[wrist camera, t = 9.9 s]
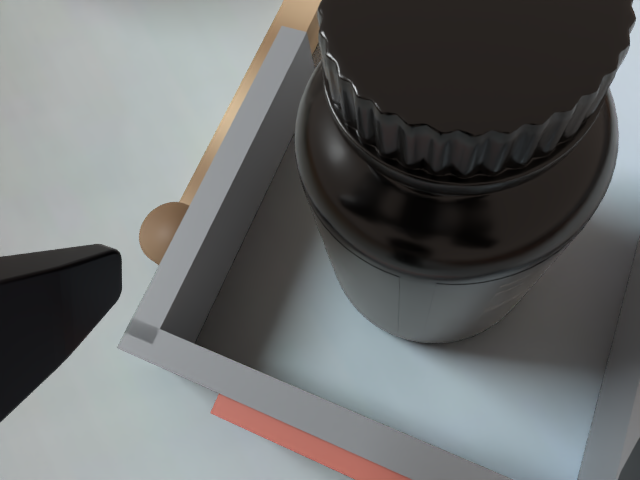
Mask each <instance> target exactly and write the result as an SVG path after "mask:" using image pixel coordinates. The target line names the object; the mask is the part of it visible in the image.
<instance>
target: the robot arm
mask: <svg viewBox="0 0 640 480" xmlns="http://www.w3.org/2000/svg"><path fill="white" fill-rule="evenodd" d="M121 291H122V259H121V255H120V252H119V251H118V250H116V249H113V248H111V247H108V246H105V245H102V244H93V245H86V246H78V247H71V248H63V249H56V250H48V251H41V252H33V253H26V254H18V255H11V256H3V257H0V422H1V421H2V420H3V419H4V418H6V417H7V416H8V415H9V414H10V413H11V412H12V411H13V410H14V409H15V408H16V407H17V406H18V405H19V404H20V403H21V402H22V401H23V400H24V399H26V398H27V397H28V396H29V395H30V394H31V393H32V392H33V391H34V390H35V389H36V388H37V387H38V386H39V385H40V384H41V383H42V382H43V381H44V380H46V379H47V378H48V377H49V376H50V375H51V374H52V373H53V372H54V371H55V370H56V369H57V368H58V367H59V366H60V365H61V364H62V363H63V362H64V361H65V360H66V359H67V358H68V357H69V356H70V355H71V354H72V352H73V351H74V350H75V349H76V348H77V347H78V346H79V345H80V343H81V342H82V341H83V340H84V339H85V338H86V336H87V335H88V334H89V333H90V332H91V331H92V330H93V328H94V327H95V326H96V325H97V324H98V323H99V321H100V320H101V319H102V318H103V317H104V316H105V315H106V313H107V312H108V311H109V310H110V309H111V308H112V306H113V305H114V304H115V303H116V302H117V300H118V299H119V297H120V294H121ZM618 480H640V438H639V439H638V441H637V442H636V444H635V446H634V448H633V450H632V452H631V453H630V455H629V457H628V459H627V461H626V463H625V464H624V466H623V468H622V470H621V472H620V475H619V478H618Z"/></svg>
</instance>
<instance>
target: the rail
mask: <svg viewBox="0 0 640 480" xmlns="http://www.w3.org/2000/svg"><path fill="white" fill-rule="evenodd" d="M321 1H322V0H284V1H283V3H282V5H281V7H280V9H279V11H278V13H277V15H276V17H275V18H274V20H273V22H272V24H271V26H270V28H269V30H268V32H267V34H266V36H265V38H264V40H263V42H262V44H261V45H260V47H259V49H258V51H257V53H256V55H255V57H254V59H253V61H252V63H251V65H250V67H249V69H248V70H247V72H246V74H245V76H244V78H243V80H242V82H241V84H240V86H239V88H238V90H237V92H236V94H235V96H234V97H233V99H232V101H231V103H230V105H229V107H228V109H227V111H226V113H225V115H224V117H223V119H222V121H221V122H220V124H219V126H218V128H217V130H216V132H215V134H214V136H213V138H212V140H211V142H210V144H209V146H208V148H207V149H206V151H205V153H204V155H203V157H202V159H201V161H200V163H199V165H198V167H197V169H196V171H195V173H194V174H193V176H192V178H191V180H190V182H189V184H188V186H187V188H186V190H185V192H184V194H183V196H182V198H181V199H180V201H179V202H170V203H166V204H163V205H161V206H159V207H157V208H155V209H154V210H153V211H151V212H150V213H149V214H148V216H147V217H146V218H145V220H144V221H143V223H142V225H141V229H140V233H139V242H140V246H141V248H142V250H143V252H144V253H145V255H146V256H147V257H148V258H150V259H151V260H152V261H154V262H155V263H157V264H158V265H159V264H160V262H161V260H162V258H163V257H164V255H165V253H166V251H167V249H168V247H169V245H170V243H171V241H172V239H173V237H174V235H175V233H176V231H177V229H178V227H179V225H180V223H181V221H182V219H183V217H184V216H185V214H186V212H187V210H188V208H189V206H190V204H191V202H192V200H193V198H194V196H195V194H196V192H197V190H198V188H199V186H200V184H201V182H202V180H203V178H204V177H205V175H206V173H207V171H208V169H209V167H210V165H211V163H212V161H213V159H214V157H215V155H216V153H217V151H218V149H219V147H220V145H221V143H222V141H223V139H224V137H225V136H226V134H227V132H228V130H229V128H230V126H231V124H232V122H233V120H234V118H235V116H236V114H237V112H238V110H239V108H240V106H241V104H242V102H243V100H244V98H245V97H246V95H247V93H248V91H249V89H250V87H251V85H252V83H253V81H254V79H255V77H256V75H257V73H258V71H259V69H260V67H261V65H262V63H263V61H264V59H265V57H266V56H267V54H268V52H269V50H270V48H271V46H272V44H273V42H274V40H275V38H276V36H277V34H278V32H279V30H280V28H281V26H285V27H289V28H293V29H297V30H301V31H305V32H307V35H308V40H309V44H310V49H311V53H312V55H313V53H314V51H315V49H316V47H317V44H318V42H319V41H318V34H319V24H318V17H317V11H318V7H319V4H320V2H321Z"/></svg>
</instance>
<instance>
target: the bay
mask: <svg viewBox="0 0 640 480" xmlns="http://www.w3.org/2000/svg"><path fill="white" fill-rule="evenodd" d="M314 70H315V67H314V62H313V58H312V53H311V49H310V44H309V40H308V35H307V32H305V31H301V30H297V29H293V28H289V27H285V26H281V28H280V30H279V32H278V34H277V36H276V38H275V40H274V42H273V44H272V46H271V48H270V50H269V52H268V54H267V56H266V57H265V59H264V61H263V63H262V65H261V67H260V69H259V71H258V73H257V75H256V77H255V79H254V81H253V83H252V85H251V87H250V89H249V91H248V93H247V95H246V97H245V98H244V100H243V102H242V104H241V106H240V108H239V110H238V112H237V114H236V116H235V118H234V120H233V122H232V124H231V126H230V128H229V130H228V132H227V134H226V136H225V137H224V139H223V141H222V143H221V145H220V147H219V149H218V151H217V153H216V155H215V157H214V159H213V161H212V163H211V165H210V167H209V169H208V171H207V173H206V175H205V177H204V178H203V180H202V182H201V184H200V186H199V188H198V190H197V192H196V194H195V196H194V198H193V200H192V202H191V204H190V206H189V208H188V210H187V212H186V214H185V216H184V217H183V219H182V221H181V223H180V225H179V227H178V229H177V231H176V233H175V235H174V237H173V239H172V241H171V243H170V245H169V247H168V249H167V251H166V253H165V255H164V257H163V258H162V260H161V262H160V264H159V266H158V268H157V270H156V272H155V274H154V276H153V278H152V280H151V282H150V284H149V286H148V288H147V290H146V292H145V294H144V296H143V297H142V299H141V301H140V303H139V305H138V307H137V309H136V311H135V313H134V315H133V317H132V319H131V321H130V323H129V325H128V327H127V329H126V331H125V333H124V335H123V337H122V338H121V340H120V342H119V344H118V346H117V348H118V349H121V350H123V351H125V352H127V353H130V354H132V355H134V356H136V357H139V358H141V359H143V360H145V361H148V362H150V363H152V364H154V365H157V366H159V367H161V368H163V369H166V370H168V371H170V372H172V373H174V374H177V375H179V376H181V377H183V378H186V379H188V380H190V381H192V382H195V383H197V384H199V385H201V386H204V387H206V388H208V389H210V390H213V391H215V392H217V393H219V395H218V397H217V399H216V402H215V404H214V406H213V408H212V410H211V414H213V415H216V416H218V417H220V418H222V419H224V420H226V421H229V422H231V423H233V424H235V425H237V426H240V427H242V428H244V429H246V430H248V431H250V432H253V433H255V434H257V435H259V436H261V437H264V438H266V439H268V440H270V441H272V442H274V443H277V444H279V445H281V446H283V447H285V448H288V449H290V450H292V451H294V452H296V453H298V454H301V455H303V456H305V457H307V458H309V459H312V460H314V461H316V462H318V463H320V464H322V465H325V466H327V467H329V468H331V469H333V470H336V471H338V472H340V473H342V474H344V475H346V476H349V477H351V478H353V479H355V480H513V479H511V478H508V477H506V476H503V475H501V474H499V473H496V472H494V471H492V470H489V469H487V468H485V467H482V466H480V465H478V464H475V463H473V462H471V461H468V460H466V459H464V458H461V457H459V456H457V455H454V454H452V453H450V452H447V451H445V450H442V449H440V448H438V447H435V446H433V445H431V444H428V443H426V442H424V441H421V440H419V439H417V438H414V437H412V436H410V435H407V434H405V433H403V432H400V431H398V430H396V429H393V428H391V427H389V426H386V425H384V424H381V423H379V422H377V421H374V420H372V419H370V418H367V417H365V416H363V415H360V414H358V413H356V412H353V411H351V410H349V409H346V408H344V407H342V406H339V405H337V404H335V403H332V402H330V401H328V400H325V399H323V398H320V397H318V396H316V395H313V394H311V393H309V392H306V391H304V390H302V389H299V388H297V387H295V386H292V385H290V384H288V383H285V382H283V381H281V380H278V379H276V378H274V377H271V376H269V375H267V374H264V373H262V372H259V371H257V370H255V369H252V368H250V367H248V366H245V365H243V364H241V363H238V362H236V361H234V360H231V359H229V358H227V357H224V356H222V355H220V354H217V353H215V352H213V351H210V350H208V349H206V348H203V347H201V346H198V345H196V344H194V343H195V341H196V339H197V337H198V335H199V333H200V331H201V329H202V327H203V324H204V322H205V320H206V318H207V316H208V314H209V312H210V310H211V307H212V305H213V303H214V301H215V299H216V297H217V295H218V293H219V291H220V288H221V286H222V284H223V282H224V280H225V278H226V276H227V274H228V272H229V269H230V267H231V265H232V263H233V261H234V259H235V257H236V255H237V253H238V250H239V248H240V246H241V244H242V242H243V240H244V238H245V236H246V234H247V231H248V229H249V227H250V225H251V223H252V221H253V219H254V217H255V215H256V212H257V210H258V208H259V206H260V204H261V202H262V200H263V198H264V195H265V193H266V191H267V189H268V187H269V185H270V183H271V181H272V179H273V176H274V174H275V172H276V170H277V168H278V166H279V164H280V162H281V160H282V157H283V155H284V153H285V151H286V149H287V147H288V145H289V143H290V141H291V138H292V136H293V134H294V132H295V124H296V117H297V112H298V108H299V104H300V100H301V98H302V95H303V92H304V89H305V87H306V85H307V83H308V81H309V79H310V77H311V75H312V73H313V71H314ZM639 438H640V237H639V241H638V245H637V249H636V253H635V257H634V261H633V264H632V268H631V272H630V276H629V280H628V284H627V288H626V292H625V296H624V300H623V303H622V307H621V311H620V315H619V319H618V323H617V327H616V331H615V335H614V339H613V342H612V346H611V350H610V354H609V358H608V362H607V366H606V370H605V374H604V378H603V381H602V385H601V389H600V393H599V397H598V401H597V405H596V409H595V413H594V417H593V421H592V424H591V428H590V432H589V436H588V440H587V444H586V448H585V452H584V456H583V460H582V463H581V467H580V471H579V475H578V479H577V480H618V478H619V475H620V472H621V470H622V468H623V466H624V464H625V463H626V461H627V459H628V457H629V455H630V453H631V452H632V450H633V448H634V446H635V444H636V442H637V441H638V439H639Z"/></svg>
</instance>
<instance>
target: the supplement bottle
mask: <svg viewBox="0 0 640 480" xmlns="http://www.w3.org/2000/svg"><path fill="white" fill-rule="evenodd" d="M632 3H633V0H322V1H321V2H320V4H319V7H318V11H317V17H318V24H319V34H318V41H319V47H320V52H321V57H322V59H321V60H320V62H319V63H318V65H317V66H316V68H315V70H314V71H313V73H312V75H311V77H310V79H309V81H308V83H307V85H306V87H305V89H304V92H303V95H302V98H301V100H300V104H299V108H298V112H297V117H296V124H295V140H294V143H295V156H296V161H297V166H298V171H299V175H300V179H301V182H302V185H303V189H304V192H305V195H306V197H307V200H308V203H309V205H310V208H311V211H312V213H313V216H314V219H315V221H316V224H317V227H318V229H319V232H320V235H321V237H322V240H323V243H324V245H325V248H326V251H327V253H328V256H329V259H330V261H331V264H332V267H333V269H334V272H335V274H336V277H337V279H338V281H339V283H340V285H341V287H342V289H343V291H344V293H345V295H346V296H347V297H348V299H349V300H350V302H351V303H352V304H353V305H354V307H355V308H356V309H357V310H358V311H359V312H360V313H361V314H362V315H363V316H364V317H365V318H366V319H367V320H369V321H370V322H371V323H373V324H374V325H376V326H377V327H379V328H380V329H382V330H384V331H386V332H388V333H390V334H392V335H395V336H397V337H400V338H403V339H407V340H410V341H415V342H422V343H447V342H454V341H458V340H462V339H466V338H469V337H472V336H474V335H476V334H479V333H481V332H483V331H484V330H486V329H488V328H490V327H491V326H493V325H494V324H496V323H497V322H498V321H500V320H501V319H502V318H503V317H504V316H505V315H507V314H508V313H509V312H510V310H512V309H513V308H514V306H515V305H516V304H517V303H518V302H519V301H520V300H521V299H522V298H523V297H524V295H525V294H526V293H527V292H528V291H529V290H530V289H531V287H532V286H533V285H534V284H535V283H536V282H537V281H538V279H539V278H540V277H541V276H542V275H543V274H544V273H545V271H546V270H547V269H548V268H549V267H550V266H551V265H552V263H553V262H554V261H555V260H556V259H557V258H558V257H559V255H560V254H561V253H562V252H563V251H564V250H565V249H566V248H567V246H568V245H569V244H570V243H571V242H572V241H573V239H574V238H575V237H576V236H577V235H578V234H579V233H580V231H581V230H582V229H583V228H584V226H585V225H586V224H587V222H588V221H589V220H590V218H591V217H592V215H593V214H594V212H595V211H596V209H597V208H598V206H599V204H600V202H601V201H602V199H603V197H604V196H605V193H606V191H607V189H608V186H609V184H610V182H611V179H612V175H613V172H614V169H615V165H616V159H617V153H618V140H619V132H618V119H617V113H616V108H615V104H614V100H613V97H612V94H611V91H610V88H609V86H610V84H611V83H612V81H613V79H614V77H615V74H616V72H617V70H618V68H619V67H620V65H621V63H622V62H623V60H624V58H625V56H626V55H627V52H628V50H629V46H630V37H629V35H630V33H631V31H632V29H633V27H634V25H635V21H636V17H635V14H634V11H633V8H632Z"/></svg>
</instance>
